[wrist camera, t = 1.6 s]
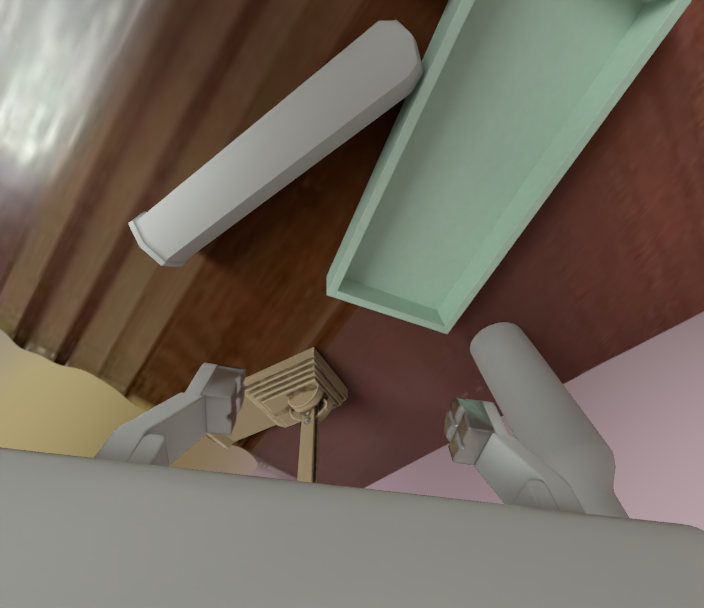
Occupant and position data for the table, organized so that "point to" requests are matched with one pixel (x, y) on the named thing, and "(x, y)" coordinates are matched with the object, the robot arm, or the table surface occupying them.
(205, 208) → the tube
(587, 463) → the bottle
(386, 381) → the table surface
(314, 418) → the banker's lamp
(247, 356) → the table surface
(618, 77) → the green tray
